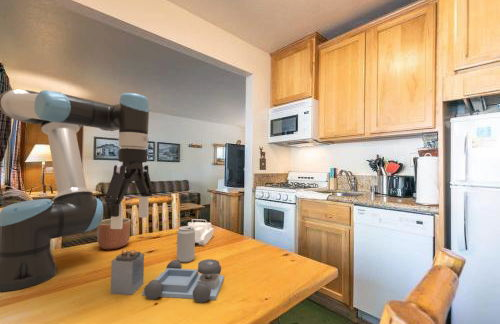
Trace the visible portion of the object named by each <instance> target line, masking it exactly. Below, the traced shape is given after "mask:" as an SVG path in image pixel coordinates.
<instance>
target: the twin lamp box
mask: <svg viewBox="0 0 500 324" xmlns="http://www.w3.org/2000/svg"><path fill="white" fill-rule="evenodd" d="M110 264H111V267H110V268H111V269H110V295H121V296H122V295H123V296H124V295H125V296H132V295H134V294H135V293H136V292H137V291H138V290H140V288H141V287H142V286H144V280H145V279H144V277H145V276H144V274H145V273H144V271H145V270H144V269H145V268H144V266H145V253H141V251H136V250H135V249H132V250H131V249H130V250H128V249H122V250H121V253H120V254H118V255H116V256H115V258H114V259H112V260H111V262H110Z"/></svg>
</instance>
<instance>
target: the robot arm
mask: <svg viewBox="0 0 500 324" xmlns="http://www.w3.org/2000/svg"><path fill="white" fill-rule="evenodd" d="M149 108H150V107H149V99H148V98H147V97H146V96H145V95H142V94H138V93H134V92H124V93H122V94H121V95H120V98H119V101H118V104H110V103H105V102H101V101H96V100H91V99H86V98H82V97H79V96H74V95H69V94H66V93H62V92H60V91H54V90H47V89H43V90H41V91H39V92H37V91H34V90H27V89H9V90H6V91H4V92H2V93H1V94H0V111H1V112H2V113H3V114H4V115H5V116H6V117H8V118H11V119H13V120H15V121H18V122H22V123H26V124H31V125H32V124H33V125H39V126H40V127H41V132H43V134H45V135H47V138H48V139H47V140H48V144H49V150H50V157H51V161H52V168H53V173H54V179H55V186H56V187H55V188H56V191H57V194H56V195H55V196H54V198H52V200H51V199H50V198H40V199H38V198H37V199H32V200H30V199H29V200H26V201H19V202H15V203H12V204H9V205H6V206H4V207H3V208H1V210H0V292H8V291H15V290H22V289H26V288H28V287H33V286H35V285H38V284H41V283H43V282H46V281H48V280H49V279H52V278H54V277H55V275H56V274H57V271H58V268H57V267H58V266H57V262H55V258H54V255H53V253H52V251H51V241H52V240H53V239H58V238H62V237H63V238H64V237H67V236H71V235H77V234H83V233H85V232H90V231H94V230H96V229H97V227H98V225H99V224H100V222H101V221H102V220H103V216H104V205H103V201H102V200H101V199H100V198H97V197H94V193H93V191H92V190H89V189H88V188H87V183H86V179H85V178H86V177H85V173H84V168H83V163H82V158H81V157H82V156H81V152H80V147H79V143H78V135H77V133H78V132H79V131H80V129H81V128H82V127H89V128H95V129H96V128H97V129H100V130H102V131H110V132H114V131H118V147H119V149H118V152H117V155H118V157H117V160H118V162H119V163H122V164H115V165H114V166H113V173H112V177H111V180H110V183H109V185H108V187H107V188H108V189H107V191H106V194H105V196H104V203H106V204H108V205H109V204H110V219H111V229H122V226H123V218H124V217H123V216H124V203H123V202H122V201H123V199H124V198H125V195H126V192H127V190H128V188H129V187H130V184H132V183H133V182H134V183H135V186H136V188H137V190H138V191H139V194H140V196H139V197H138V218H145V219H146V218H149V199H150V198H149V197H152V196H153V187H152V183H151V178H150V173H149V164H148V165H146V164H145V165H143V163H147V162H148V151H147V148H148V145H149V144H148V141H149V140H150V139H149V119H150V118H149V113H150V109H149Z"/></svg>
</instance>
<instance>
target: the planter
mask: <svg viewBox="0 0 500 324" xmlns="http://www.w3.org/2000/svg"><path fill="white" fill-rule="evenodd" d="M131 222H132V220H131V219H130V218H125V217H123V226H122V229H111V218H108V219H107V218H106V219H102V220H101V222H100V224H99V225H98V227H97V228H96V229H97V230H96V231H97V233H96V234H97V238H96V240H97V244H98V246H99V247H100V248H102V249H103V250H106V251H107V250H118V249H120V248H123V247H124V246H126V245H127V244H128V242H129V241H130V237H131V226H132V225H131Z"/></svg>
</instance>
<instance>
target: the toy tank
mask: <svg viewBox="0 0 500 324" xmlns="http://www.w3.org/2000/svg"><path fill="white" fill-rule="evenodd" d="M194 221H195V222H194ZM204 221H205V222H204ZM204 221H203V222H202V219H198V218H197V219H196V218H191V222H189V221H188V223H187V226H192V227H194V230H195V244H198V246H205V245H206V244H208V242H209V240H210V239H211V238H212V239H213V234H214V232H215V228H214V227H213V226H212V223H211V222H208V221H207V219H204ZM212 239H211V240H212ZM211 240H210V241H211Z"/></svg>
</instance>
